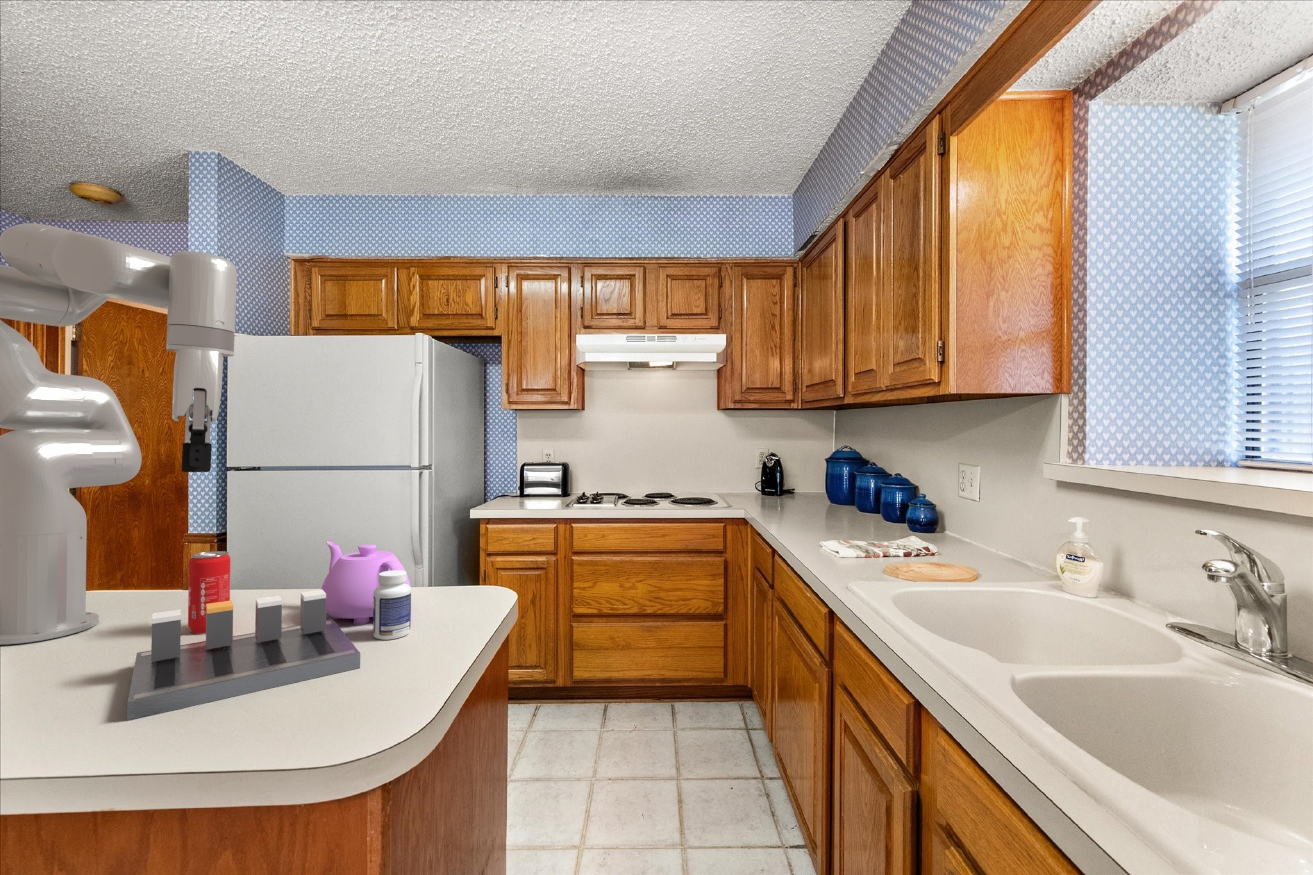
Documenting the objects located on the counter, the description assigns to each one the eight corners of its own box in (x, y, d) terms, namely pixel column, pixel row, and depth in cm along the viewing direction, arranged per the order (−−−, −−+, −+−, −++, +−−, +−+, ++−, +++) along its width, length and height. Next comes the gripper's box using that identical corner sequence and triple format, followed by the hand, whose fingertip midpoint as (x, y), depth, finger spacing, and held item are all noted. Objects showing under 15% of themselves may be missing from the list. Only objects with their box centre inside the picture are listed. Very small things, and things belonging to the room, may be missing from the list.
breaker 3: (300, 628, 85) (300, 592, 85) (321, 624, 86) (322, 589, 86) (303, 634, 82) (304, 596, 82) (325, 630, 84) (326, 593, 84)
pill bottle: (418, 632, 91) (419, 571, 91) (389, 642, 86) (390, 578, 86) (394, 626, 93) (394, 567, 93) (365, 637, 88) (365, 574, 88)
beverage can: (206, 636, 88) (207, 558, 88) (179, 633, 89) (180, 556, 89) (237, 625, 93) (238, 551, 93) (211, 622, 94) (212, 550, 94)
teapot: (287, 615, 98) (288, 545, 98) (363, 596, 111) (364, 533, 111) (361, 636, 89) (362, 558, 89) (435, 612, 101) (436, 543, 101)
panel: (136, 667, 76) (136, 652, 76) (332, 631, 90) (332, 618, 90) (127, 720, 62) (127, 701, 62) (360, 667, 77) (360, 652, 77)
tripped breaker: (205, 643, 78) (206, 603, 78) (231, 638, 80) (231, 600, 80) (206, 649, 76) (207, 609, 76) (232, 644, 78) (233, 605, 78)
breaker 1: (152, 654, 74) (152, 613, 74) (180, 649, 76) (180, 609, 76) (151, 661, 72) (151, 619, 72) (180, 656, 74) (180, 614, 74)
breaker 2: (255, 636, 81) (255, 598, 81) (278, 632, 83) (279, 595, 83) (257, 642, 79) (257, 603, 79) (281, 638, 81) (282, 600, 81)
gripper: (168, 344, 84) (163, 467, 85) (164, 333, 73) (158, 476, 73) (231, 350, 89) (226, 467, 89) (237, 341, 78) (231, 476, 78)
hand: (196, 471), depth 81 cm, fingers closed
